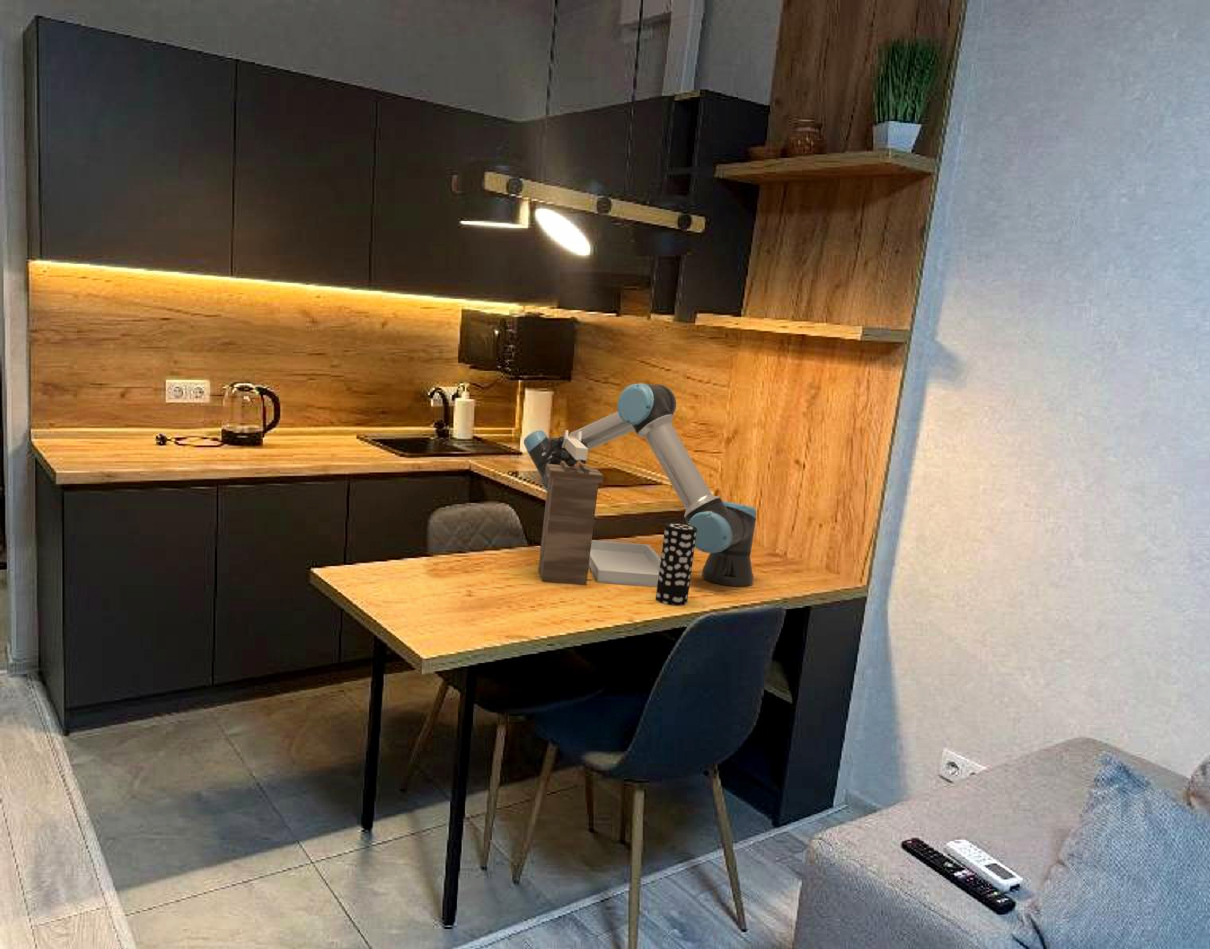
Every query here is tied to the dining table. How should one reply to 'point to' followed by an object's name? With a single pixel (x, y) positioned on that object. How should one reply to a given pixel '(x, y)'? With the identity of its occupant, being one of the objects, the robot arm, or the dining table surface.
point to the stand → (568, 523)
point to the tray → (624, 563)
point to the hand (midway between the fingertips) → (573, 435)
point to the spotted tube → (676, 564)
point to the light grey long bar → (576, 448)
